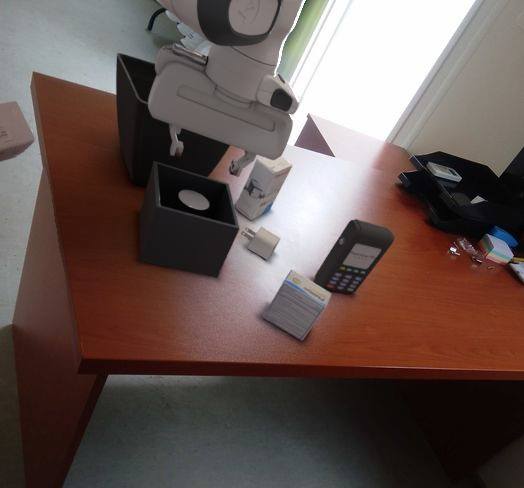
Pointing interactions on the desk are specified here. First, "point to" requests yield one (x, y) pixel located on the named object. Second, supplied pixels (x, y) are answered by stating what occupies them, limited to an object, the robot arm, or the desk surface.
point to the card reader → (353, 256)
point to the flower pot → (154, 128)
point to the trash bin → (186, 222)
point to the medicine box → (297, 305)
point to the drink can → (192, 203)
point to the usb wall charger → (262, 242)
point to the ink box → (263, 186)
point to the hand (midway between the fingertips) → (205, 164)
